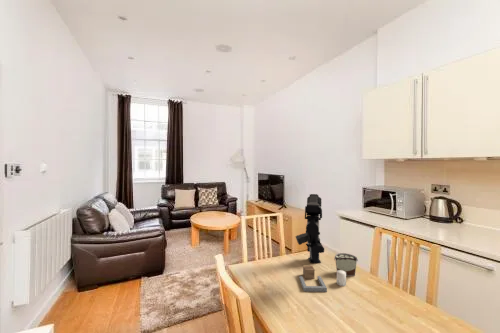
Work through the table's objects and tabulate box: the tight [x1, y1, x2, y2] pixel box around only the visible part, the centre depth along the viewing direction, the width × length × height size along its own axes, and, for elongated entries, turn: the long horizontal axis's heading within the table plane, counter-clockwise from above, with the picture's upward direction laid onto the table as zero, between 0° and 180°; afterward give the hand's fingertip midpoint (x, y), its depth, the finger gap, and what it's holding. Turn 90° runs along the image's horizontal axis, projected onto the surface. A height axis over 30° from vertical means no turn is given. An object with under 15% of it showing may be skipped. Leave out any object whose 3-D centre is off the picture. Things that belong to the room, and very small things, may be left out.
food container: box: [333, 252, 359, 277], centre depth 127 cm, size 12×6×10 cm, turn 84°
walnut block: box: [302, 264, 315, 280], centre depth 123 cm, size 5×5×5 cm
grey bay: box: [298, 275, 328, 293], centre depth 114 cm, size 12×11×2 cm
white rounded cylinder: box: [336, 270, 347, 287], centre depth 116 cm, size 4×4×6 cm
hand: (312, 259), depth 115 cm, fingers closed
